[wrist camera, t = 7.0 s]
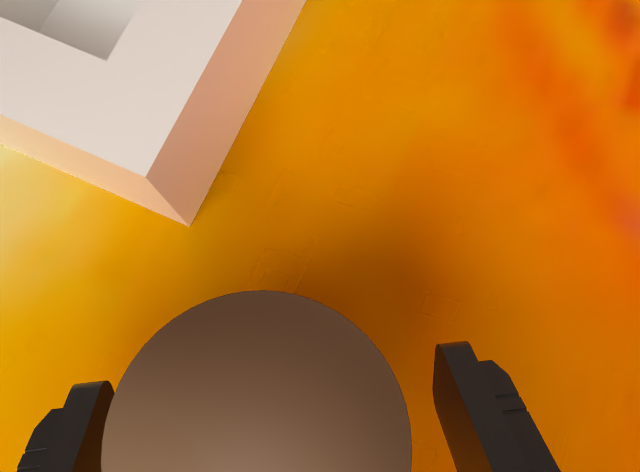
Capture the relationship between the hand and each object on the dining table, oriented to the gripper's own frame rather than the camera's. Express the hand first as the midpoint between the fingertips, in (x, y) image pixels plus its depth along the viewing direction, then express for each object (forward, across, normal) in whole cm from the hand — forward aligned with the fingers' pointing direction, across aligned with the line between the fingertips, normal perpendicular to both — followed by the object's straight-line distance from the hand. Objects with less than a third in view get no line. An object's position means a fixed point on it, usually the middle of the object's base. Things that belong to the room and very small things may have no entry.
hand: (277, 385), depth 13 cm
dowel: (+4, 0, +5) cm, 6 cm away
